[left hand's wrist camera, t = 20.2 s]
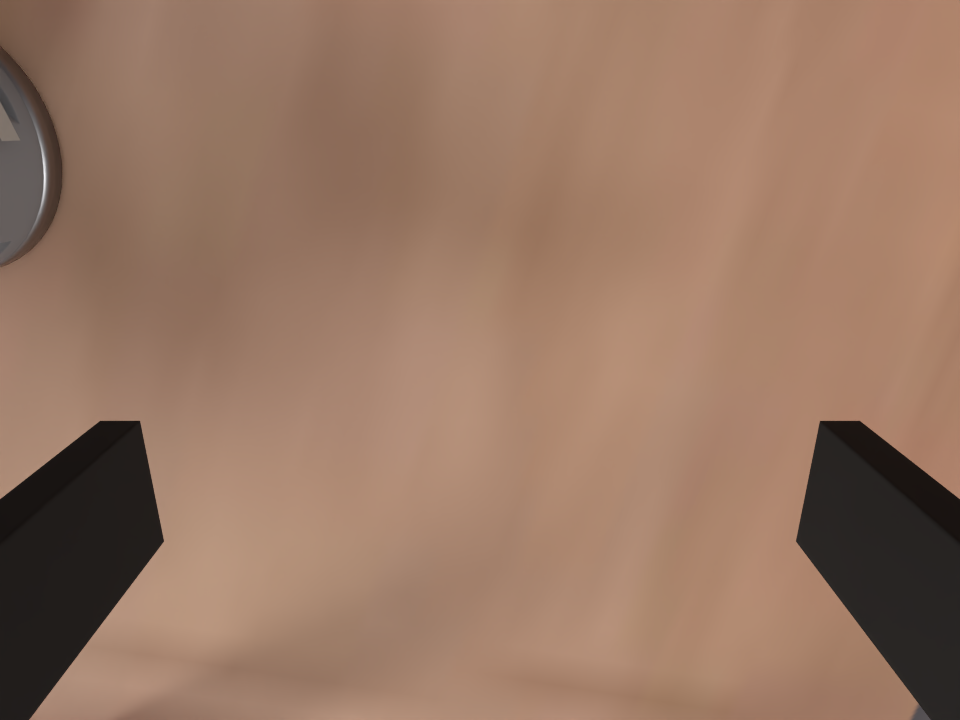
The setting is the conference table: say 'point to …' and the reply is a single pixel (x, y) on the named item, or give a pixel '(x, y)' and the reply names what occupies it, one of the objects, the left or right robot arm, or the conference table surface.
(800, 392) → the conference table surface
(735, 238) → the conference table surface
